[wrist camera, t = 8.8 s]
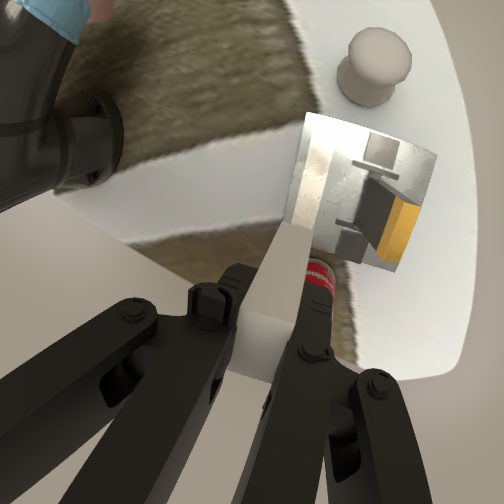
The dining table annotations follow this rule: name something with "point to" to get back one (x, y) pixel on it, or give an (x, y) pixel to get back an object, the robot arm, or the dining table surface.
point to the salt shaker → (373, 66)
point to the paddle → (386, 218)
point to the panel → (349, 182)
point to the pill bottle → (321, 276)
